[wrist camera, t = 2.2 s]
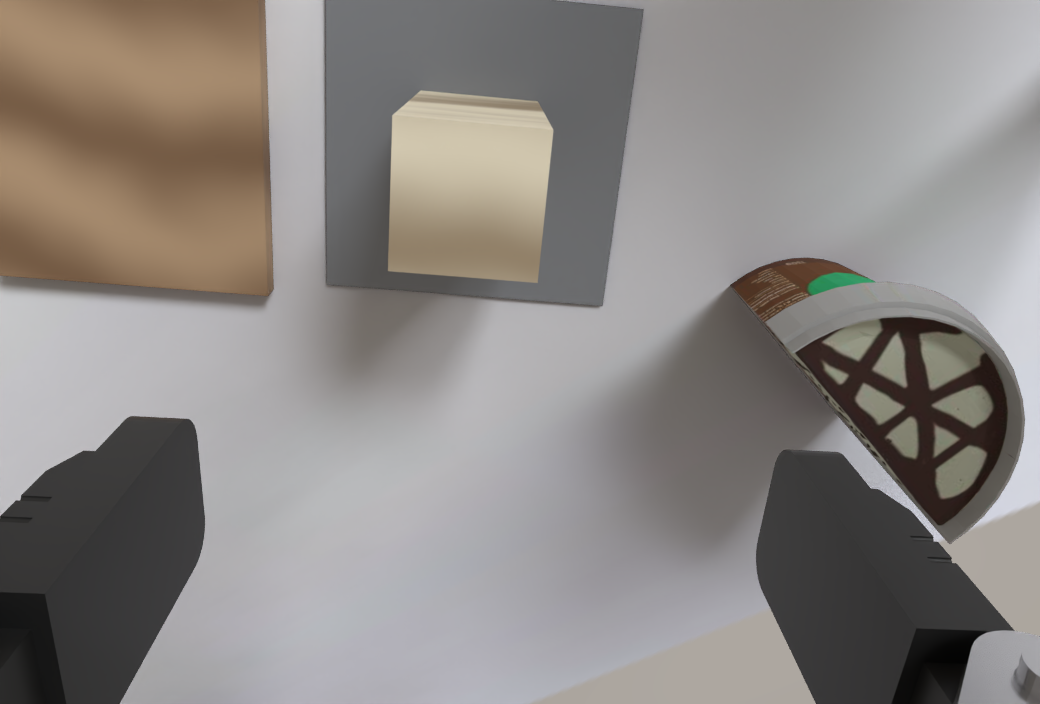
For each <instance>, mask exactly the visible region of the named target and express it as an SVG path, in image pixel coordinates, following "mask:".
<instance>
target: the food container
mask: <svg viewBox="0 0 1040 704" xmlns="http://www.w3.org/2000/svg"><path fill="white" fill-rule="evenodd" d="M730 286H731V287H732V288H733V290H734V291H735V292H736V293H737V294H738V296H739V297H740V298H741V299H742V300H743V302H744V303H745V304H746V305H747V306H748V308H749V309H750V310H751V311H752V313H753V314H754V315H755V316H756V317H757V319H758V320H759V321H760V322H761V323H762V325H763V326H764V327H765V328H766V329H767V331H768V332H769V333H770V334H771V336H772V337H773V338H774V339H775V340H776V342H777V343H778V344H779V345H780V346H781V348H782V349H783V350H784V351H785V352H786V354H787V355H788V356H789V357H790V359H791V360H792V361H793V362H794V363H795V365H796V366H797V367H798V368H799V369H800V371H801V372H802V373H803V374H804V375H805V377H806V378H807V379H808V380H809V381H810V383H811V384H812V385H813V386H814V388H815V389H816V390H817V391H818V392H819V394H820V395H821V396H822V397H823V398H824V400H825V401H826V402H827V403H828V404H829V406H830V407H831V408H832V409H833V411H834V412H835V413H836V414H837V415H838V416H839V418H840V419H841V420H842V421H843V422H844V423H845V425H846V426H847V427H848V428H849V429H850V430H851V431H852V433H853V434H854V435H855V436H856V437H857V438H858V439H859V441H860V442H861V443H862V444H863V445H864V446H865V448H866V449H867V450H868V451H869V452H870V453H871V454H872V456H873V457H874V458H875V459H876V460H877V461H878V463H879V464H880V465H881V466H882V467H883V468H884V469H885V471H886V472H887V473H888V474H889V475H890V476H891V477H892V479H893V480H894V481H895V482H896V483H897V484H898V486H899V487H900V488H901V489H902V490H903V491H904V492H905V494H906V495H907V496H908V497H909V498H910V499H911V501H912V502H913V503H914V504H915V505H916V506H917V507H918V509H919V510H920V511H921V512H922V513H923V514H924V515H925V517H926V518H927V519H928V520H929V522H930V523H931V524H932V525H933V526H934V527H935V529H936V530H937V531H938V532H939V533H940V534H941V535H942V536H943V538H944V539H945V540H946V541H947V542H948V543H949V544H951V543H952V542H954V541H955V540H956V539H958V538H959V537H961V536H962V535H963V534H965V533H966V532H967V531H968V530H969V529H970V528H972V527H973V526H974V525H975V524H976V523H977V522H978V521H979V520H980V519H981V518H982V517H983V516H984V515H985V514H986V513H987V511H988V510H989V509H990V508H991V507H992V505H993V504H994V503H995V502H996V500H997V499H998V498H999V496H1000V495H1001V493H1002V491H1003V490H1004V488H1005V487H1006V485H1007V483H1008V482H1009V480H1010V478H1011V475H1012V473H1013V471H1014V469H1015V466H1016V464H1017V462H1018V459H1019V455H1020V451H1021V447H1022V443H1023V437H1024V424H1025V416H1024V407H1023V399H1022V396H1021V392H1020V388H1019V385H1018V382H1017V379H1016V376H1015V372H1014V369H1013V367H1012V366H1011V364H1010V362H1009V360H1008V358H1007V357H1006V355H1005V353H1004V351H1003V350H1002V349H1001V347H1000V346H999V345H998V343H997V342H996V341H995V340H994V338H993V337H992V336H991V334H990V333H989V332H988V331H987V330H986V328H985V327H984V326H983V325H982V324H981V323H980V322H979V320H978V319H977V318H976V317H975V316H974V315H973V314H972V313H970V312H969V311H968V310H966V309H965V308H964V307H962V306H961V305H960V304H958V303H957V302H955V301H953V300H951V299H949V298H947V297H945V296H943V295H941V294H939V293H937V292H935V291H932V290H928V289H925V288H921V287H918V286H915V285H909V284H900V283H892V282H875V281H873V280H871V279H869V278H867V277H865V276H862V275H860V274H858V273H856V272H854V271H852V270H850V269H848V268H846V267H844V266H842V265H840V264H838V263H834V262H831V261H827V260H824V259H815V258H792V259H787V260H782V261H777V262H773V263H771V264H768V265H765V266H762V267H759V268H757V269H755V270H754V271H752V272H750V273H748V274H746V275H744V276H743V277H741V278H740V279H738V280H737V281H736V282H734V283H733V284H731V285H730Z"/></svg>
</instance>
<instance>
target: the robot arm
mask: <svg viewBox="0 0 1040 704" xmlns="http://www.w3.org/2000/svg"><path fill="white" fill-rule="evenodd" d="M204 530H205V515H204V505H203V494H202V484H201V473H200V462H199V452H198V441H197V434H196V429H195V426H194V424H193V423H192V421H191V420H189V419H178V418H158V417H138V416H131V417H128V418H127V419H126V420H125V421H124V422H123V423H122V424H121V425H120V426H119V427H118V428H117V429H116V430H115V431H114V432H113V433H112V434H111V435H110V436H109V437H108V439H107V440H106V441H105V442H104V443H103V444H102V445H101V446H100V447H99V448H98V449H97V450H96V451H82V452H81V453H79V454H77V455H75V456H73V457H71V458H69V459H67V460H66V461H64V462H62V463H60V464H58V465H56V466H54V467H52V468H51V469H49V470H47V471H45V472H44V473H43V474H42V475H41V476H40V477H39V478H38V479H37V480H36V481H35V482H34V483H33V484H32V485H31V486H30V487H29V488H28V489H27V490H26V491H25V492H24V493H23V494H22V495H21V500H20V501H15V502H14V503H13V504H12V505H11V506H10V507H9V508H8V509H7V510H6V511H5V512H4V513H3V514H2V515H1V516H0V704H120V702H121V700H122V698H123V696H124V695H125V693H126V691H127V689H128V687H129V686H130V684H131V682H132V680H133V678H134V676H135V675H136V673H137V671H138V669H139V667H140V666H141V664H142V662H143V660H144V658H145V657H146V655H147V653H148V651H149V649H150V648H151V646H152V644H153V642H154V640H155V639H156V637H157V635H158V633H159V631H160V630H161V628H162V626H163V624H164V622H165V621H166V619H167V617H168V615H169V613H170V611H171V610H172V608H173V606H174V604H175V602H176V601H177V599H178V597H179V595H180V593H181V592H182V590H183V588H184V586H185V584H186V583H187V581H188V579H189V577H190V575H191V574H192V572H193V570H194V568H195V566H196V564H197V562H198V559H199V556H200V553H201V549H202V545H203V539H204ZM951 559H952V558H951V557H950V555H949V554H948V553H947V552H946V551H945V550H944V548H943V547H942V546H941V545H940V544H939V543H938V542H934V541H933V536H932V535H931V533H930V532H929V531H928V530H927V529H926V528H925V526H924V525H923V524H922V523H921V522H920V521H919V520H918V518H917V517H916V516H915V515H914V514H913V513H912V511H910V510H909V509H907V508H906V507H904V506H903V505H901V504H900V503H898V502H897V501H895V500H894V499H892V498H891V497H889V496H888V495H886V494H885V493H883V492H882V491H880V490H879V489H871V488H870V487H869V486H868V485H867V483H866V482H865V481H864V480H863V478H862V477H861V476H860V475H859V474H858V472H857V471H856V470H855V469H854V467H853V466H852V465H851V464H850V463H849V461H848V460H847V459H846V458H845V457H844V456H843V455H842V454H841V453H838V452H823V451H803V450H784V451H782V452H781V453H780V455H779V456H778V458H777V461H776V463H775V467H774V471H773V476H772V480H771V484H770V489H769V493H768V498H767V502H766V507H765V511H764V516H763V520H762V524H761V529H760V533H759V538H758V543H757V550H756V565H757V574H758V579H759V583H760V586H761V589H762V591H763V593H764V596H765V598H766V600H767V602H768V604H769V606H770V608H771V610H772V612H773V614H774V617H775V619H776V621H777V623H778V625H779V627H780V629H781V631H782V633H783V635H784V637H785V640H786V642H787V644H788V646H789V648H790V650H791V652H792V654H793V656H794V658H795V660H796V663H797V665H798V667H799V669H800V671H801V673H802V675H803V677H804V679H805V682H806V684H807V685H808V688H809V690H810V692H811V694H812V696H813V698H814V700H815V702H816V704H1040V636H1036V635H1033V634H1029V633H1023V632H1018V631H1014V630H1013V629H1012V627H1011V626H1010V625H1009V624H1008V623H1007V621H1006V620H1005V619H1004V618H1003V617H1002V616H1001V614H1000V613H998V611H997V610H996V609H995V608H994V606H993V605H992V604H991V603H990V602H989V601H988V600H987V598H986V597H985V596H984V595H983V594H982V592H981V591H980V590H979V589H978V588H977V587H976V586H975V584H974V583H973V582H972V581H971V580H970V579H969V577H968V576H967V575H966V574H965V573H964V572H963V571H962V570H961V568H960V567H959V566H958V565H957V564H956V563H952V561H951Z"/></svg>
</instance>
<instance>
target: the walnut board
mask: <svg viewBox="0 0 1040 704" xmlns="http://www.w3.org/2000/svg"><path fill="white" fill-rule="evenodd" d="M0 276H13V277H26V278H39V279H52V280H65V281H78V282H92V283H105V284H118V285H131V286H144V287H157V288H170V289H183V290H196V291H209V292H222V293H236V294H249V295H262V296H268V295H269V294H270V293H271V292H272V290H273V289H274V287H273V254H272V220H271V187H270V153H269V120H268V86H267V53H266V19H265V0H0Z"/></svg>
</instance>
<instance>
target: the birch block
mask: <svg viewBox="0 0 1040 704" xmlns="http://www.w3.org/2000/svg"><path fill="white" fill-rule="evenodd" d="M552 140H553V128H552V126H551V124H550V123H549V121H548V119H547V117H546V115H545V114H544V112H543V110H542V108H541V106H540V104H539V103H538V101H530V100H519V99H508V98H498V97H487V96H476V95H465V94H455V93H444V92H433V91H423V90H421V91H420V92H418V93H417V94H416V95H415V96H414V97H413V98H412V99H410V100H409V101H408V102H407V103H406V104H405V105H404V106H402V107H401V108H400V109H399V110H398V111H397V112H396V113H394V114H393V115H392V145H391V180H390V216H389V251H388V271H393V272H406V273H419V274H431V275H444V276H456V277H469V278H482V279H494V280H507V281H520V282H532V283H538V274H539V264H540V255H541V245H542V236H543V226H544V217H545V207H546V197H547V188H548V178H549V169H550V159H551V149H552Z"/></svg>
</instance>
